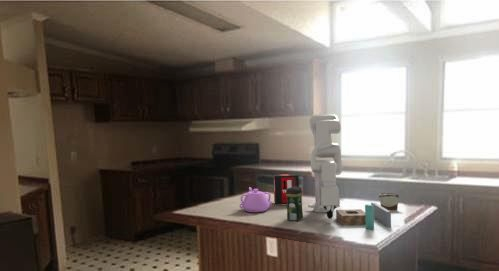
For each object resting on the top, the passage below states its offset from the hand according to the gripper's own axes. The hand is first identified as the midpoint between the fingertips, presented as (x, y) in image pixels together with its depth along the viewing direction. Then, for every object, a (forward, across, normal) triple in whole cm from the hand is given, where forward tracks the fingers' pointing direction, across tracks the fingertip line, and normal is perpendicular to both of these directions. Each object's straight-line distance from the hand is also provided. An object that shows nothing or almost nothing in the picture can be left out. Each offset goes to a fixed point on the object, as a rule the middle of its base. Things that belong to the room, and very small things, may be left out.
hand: (329, 218), depth 186 cm
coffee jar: (+3, -18, +10) cm, 21 cm away
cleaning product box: (+2, -19, +55) cm, 58 cm away
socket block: (+2, +12, +1) cm, 12 cm away
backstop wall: (+3, +27, +1) cm, 27 cm away
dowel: (+3, +17, -13) cm, 22 cm away
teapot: (+2, -41, +37) cm, 55 cm away
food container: (+2, +42, +30) cm, 51 cm away
